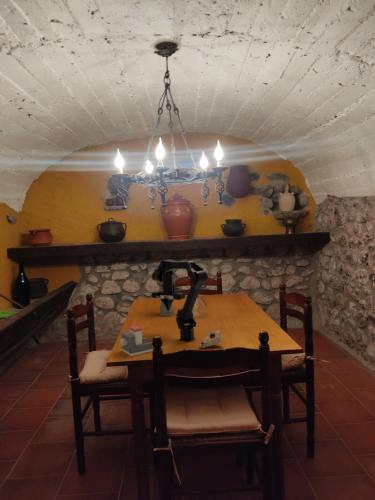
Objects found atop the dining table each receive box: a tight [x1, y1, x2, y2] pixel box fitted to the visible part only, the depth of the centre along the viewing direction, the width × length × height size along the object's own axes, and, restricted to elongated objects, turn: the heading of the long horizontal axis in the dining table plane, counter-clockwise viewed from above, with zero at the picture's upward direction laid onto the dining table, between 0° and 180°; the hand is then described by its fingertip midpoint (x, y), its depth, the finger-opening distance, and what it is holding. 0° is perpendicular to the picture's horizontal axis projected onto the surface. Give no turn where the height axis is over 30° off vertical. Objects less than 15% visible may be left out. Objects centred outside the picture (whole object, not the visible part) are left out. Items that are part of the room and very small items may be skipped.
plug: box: [120, 325, 143, 346], centre depth 199 cm, size 9×6×10 cm, turn 124°
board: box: [121, 348, 153, 357], centre depth 202 cm, size 14×10×1 cm
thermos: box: [156, 269, 176, 318], centre depth 271 cm, size 9×12×35 cm
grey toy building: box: [121, 331, 153, 354], centre depth 201 cm, size 14×10×8 cm
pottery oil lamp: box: [198, 330, 224, 349], centre depth 204 cm, size 9×12×7 cm
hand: (168, 310), depth 227 cm, fingers closed
